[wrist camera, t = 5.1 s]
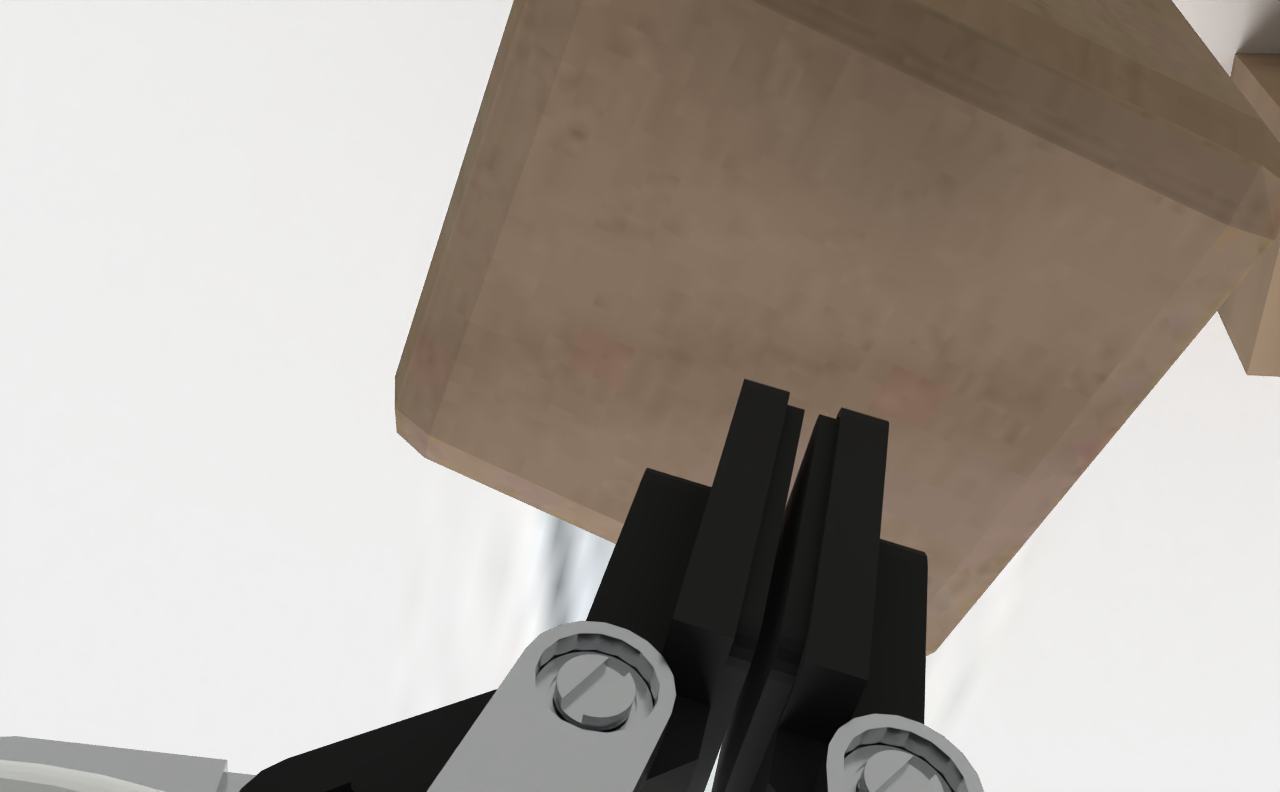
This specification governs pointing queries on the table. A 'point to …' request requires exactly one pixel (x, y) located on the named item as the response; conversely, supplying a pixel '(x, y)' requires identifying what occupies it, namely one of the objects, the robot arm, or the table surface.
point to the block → (833, 249)
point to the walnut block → (1276, 286)
